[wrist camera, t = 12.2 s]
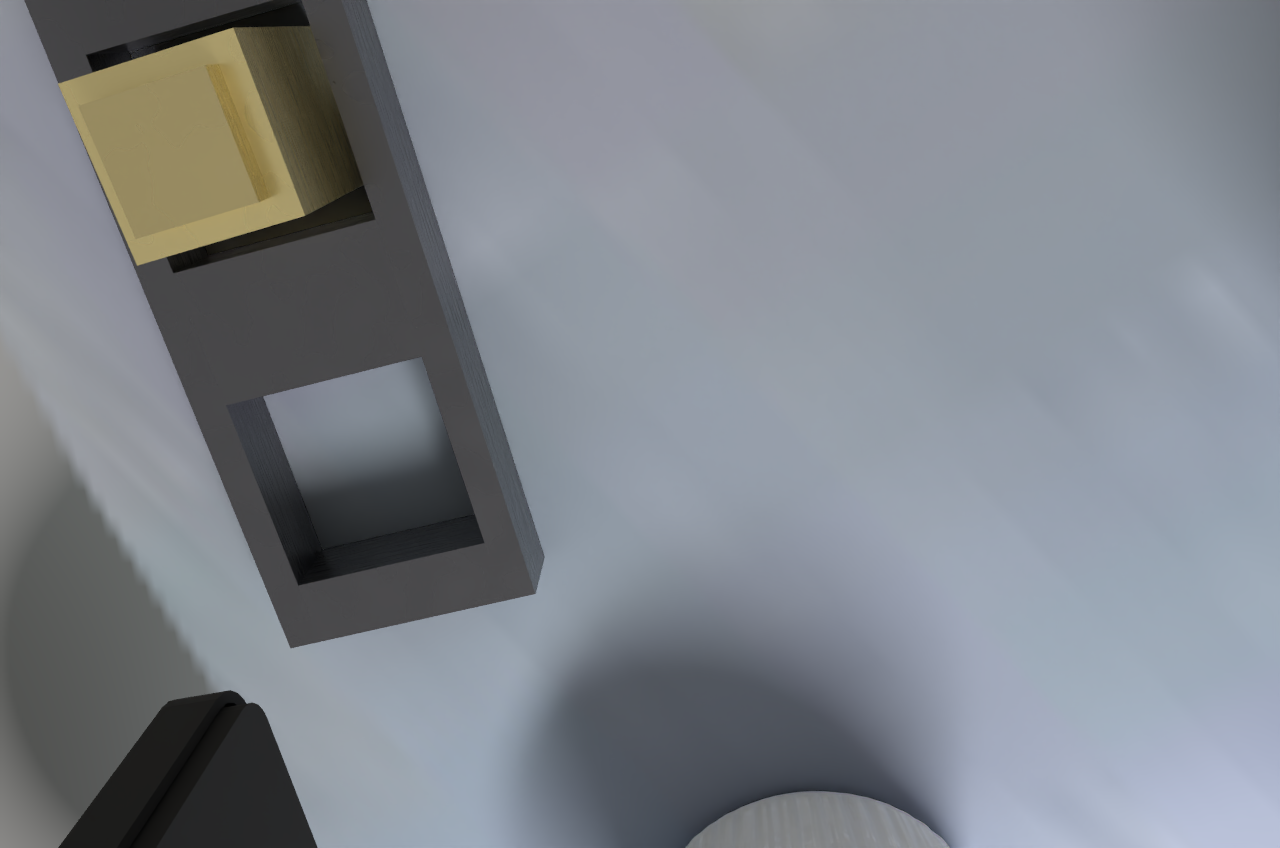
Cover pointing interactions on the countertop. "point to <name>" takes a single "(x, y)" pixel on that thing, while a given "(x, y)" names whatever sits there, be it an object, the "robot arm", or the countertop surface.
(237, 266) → the grey board with holes
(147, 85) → the yellow rectangular block
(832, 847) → the ramekin
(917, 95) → the countertop surface
